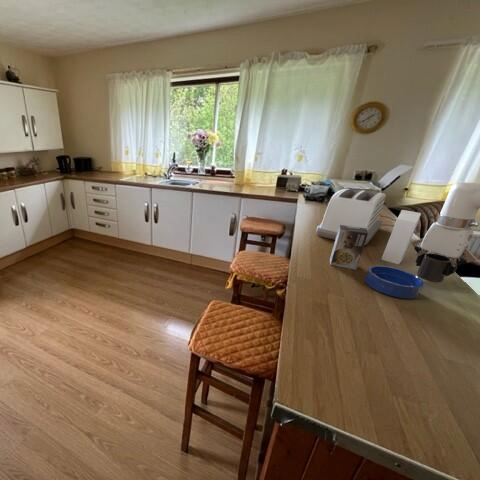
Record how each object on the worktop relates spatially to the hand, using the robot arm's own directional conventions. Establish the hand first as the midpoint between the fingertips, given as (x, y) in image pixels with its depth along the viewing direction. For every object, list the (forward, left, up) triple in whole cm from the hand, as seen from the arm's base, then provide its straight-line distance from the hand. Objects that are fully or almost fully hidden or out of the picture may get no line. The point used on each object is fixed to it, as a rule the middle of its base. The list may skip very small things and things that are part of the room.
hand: (432, 269), depth 89 cm
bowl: (+4, +13, -7) cm, 16 cm away
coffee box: (+22, +11, -7) cm, 26 cm away
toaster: (+46, -32, -7) cm, 57 cm away
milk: (+16, -13, -7) cm, 22 cm away
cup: (0, 0, -3) cm, 3 cm away
